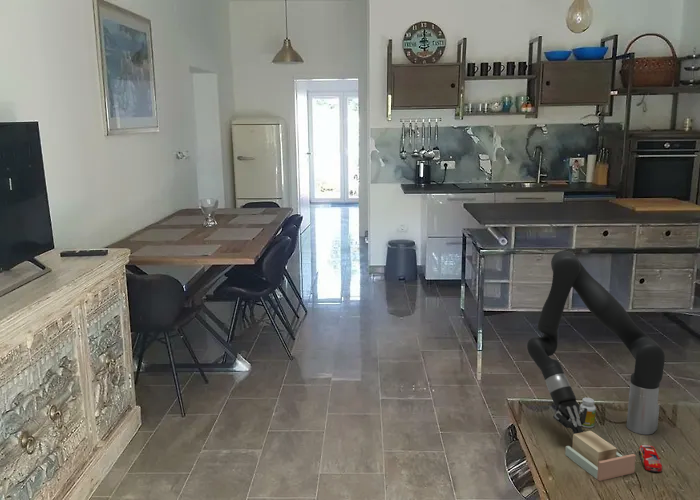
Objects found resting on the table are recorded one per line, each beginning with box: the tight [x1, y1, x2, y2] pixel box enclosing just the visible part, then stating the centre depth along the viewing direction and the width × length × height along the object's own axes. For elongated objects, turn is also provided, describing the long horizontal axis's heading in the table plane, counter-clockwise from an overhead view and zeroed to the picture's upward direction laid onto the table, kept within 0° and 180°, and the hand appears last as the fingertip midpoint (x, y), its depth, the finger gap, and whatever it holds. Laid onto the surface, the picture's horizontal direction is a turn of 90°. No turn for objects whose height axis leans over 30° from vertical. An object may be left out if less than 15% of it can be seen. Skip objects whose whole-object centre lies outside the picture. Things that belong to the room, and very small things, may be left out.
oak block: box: [571, 430, 618, 467], centre depth 194 cm, size 7×12×7 cm, turn 18°
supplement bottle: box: [579, 397, 597, 429], centre depth 217 cm, size 5×5×10 cm
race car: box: [638, 444, 663, 473], centre depth 193 cm, size 13×5×4 cm, turn 163°
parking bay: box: [564, 445, 637, 482], centre depth 192 cm, size 13×16×6 cm
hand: (581, 438), depth 200 cm, fingers closed
